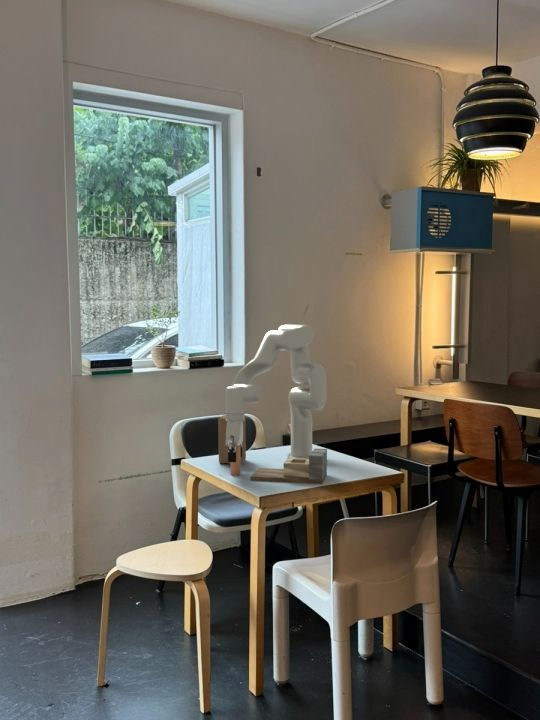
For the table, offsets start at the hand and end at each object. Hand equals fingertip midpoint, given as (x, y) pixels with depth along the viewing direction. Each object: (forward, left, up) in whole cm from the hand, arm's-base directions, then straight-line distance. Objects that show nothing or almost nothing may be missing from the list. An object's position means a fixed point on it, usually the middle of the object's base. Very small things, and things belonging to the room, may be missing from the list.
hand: (235, 459), depth 277 cm
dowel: (0, 0, -6) cm, 6 cm away
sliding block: (+1, +26, -4) cm, 26 cm away
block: (-21, -7, -6) cm, 23 cm away
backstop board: (+1, +22, -6) cm, 23 cm away
